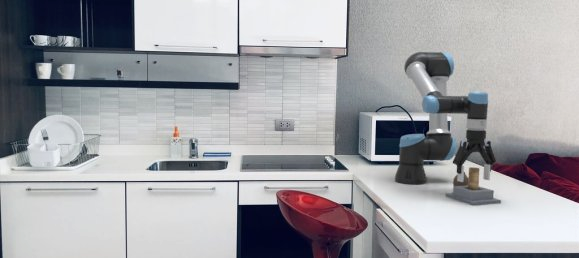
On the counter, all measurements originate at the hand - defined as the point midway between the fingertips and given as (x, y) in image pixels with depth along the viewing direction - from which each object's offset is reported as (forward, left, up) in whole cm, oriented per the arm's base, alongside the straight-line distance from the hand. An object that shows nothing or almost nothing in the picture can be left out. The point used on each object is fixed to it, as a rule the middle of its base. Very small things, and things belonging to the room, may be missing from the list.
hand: (473, 180), depth 186 cm
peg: (0, 0, -7) cm, 7 cm away
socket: (0, 0, -8) cm, 8 cm away
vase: (-15, +7, -8) cm, 18 cm away
